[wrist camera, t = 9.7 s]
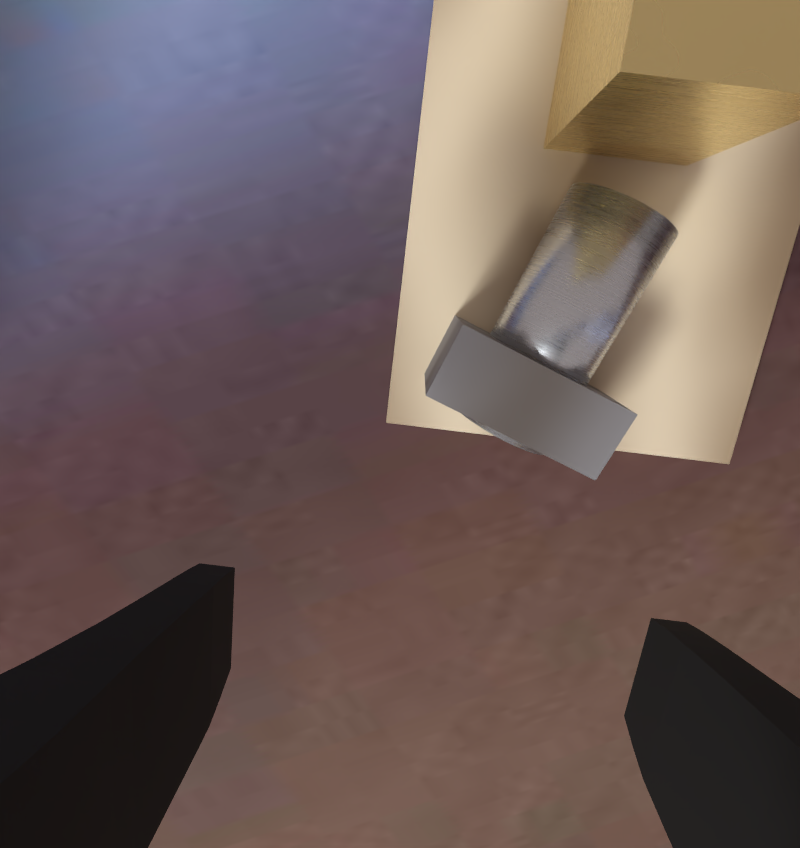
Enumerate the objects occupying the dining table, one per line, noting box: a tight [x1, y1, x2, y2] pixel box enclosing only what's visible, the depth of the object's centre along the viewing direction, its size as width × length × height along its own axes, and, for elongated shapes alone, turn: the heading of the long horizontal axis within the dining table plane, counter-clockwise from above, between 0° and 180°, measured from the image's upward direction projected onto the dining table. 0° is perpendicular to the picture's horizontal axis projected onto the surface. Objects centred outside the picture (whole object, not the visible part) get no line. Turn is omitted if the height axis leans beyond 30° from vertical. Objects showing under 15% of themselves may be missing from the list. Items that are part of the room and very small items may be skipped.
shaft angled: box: [462, 182, 678, 455], centre depth 15 cm, size 6×3×3 cm, turn 153°
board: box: [386, 0, 800, 480], centre depth 14 cm, size 11×20×4 cm, turn 173°
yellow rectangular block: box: [543, 0, 800, 166], centre depth 12 cm, size 4×4×6 cm
